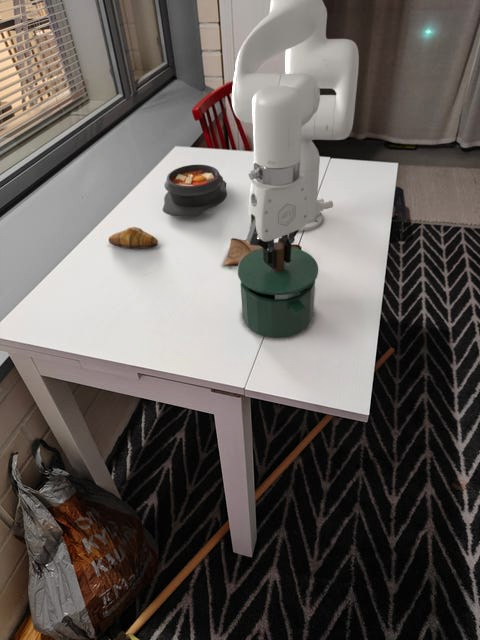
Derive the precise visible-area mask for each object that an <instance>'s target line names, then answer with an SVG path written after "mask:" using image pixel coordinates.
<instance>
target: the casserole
mask: <svg viewBox="0 0 480 640" xmlns="http://www.w3.org/2000/svg"><path fill="white" fill-rule="evenodd" d="M163 187H164V190H166V191H167V192H166V194H164V197H163V202H164V204H163V207H162V212H163V213H164V214H166V215H169V216H171V217H177V218H193V217H199V216H201V215H202V214H204V213H205V212H206V211H209V210H210V209H213V208H216V207H217V206H219V205H221V204H222V203H224V201H226V199H227V197H228V192H227V182H226V181H225V180H224V178H223V176H222V175H221V174H220V172H219V170H218V169H217V168H216V167H213V166H211V165H208V164H188V165H183V166H180V167H177V168H175V169H173V170H171V171H170V172H169V173H168V174H167V176H166V180H165V181H164V186H163Z"/></svg>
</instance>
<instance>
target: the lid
mask: <svg viewBox="0 0 480 640" xmlns="http://www.w3.org/2000/svg"><path fill="white" fill-rule="evenodd" d="M274 249H275V250H276V268H275V269H272V268H271V267H270V266H268V265H267V264H266V263H265V262H264V260H263V248H260V249H257V250H254V251H252V252H250V253H249V254H247V255H246V256H244V257H243V258H242V260H241V261H240V262H239V265H238V266H237V268H236V269H237V271H236V272H237V276H238V280H240V283H241V282H242V283H243V284H244V285H245V286H246V287H248V288H249V289H251V290H253V291H256V292H259V293H262V294H268V295H287V294H292V293H296V292H299V291H302V290H304V289H306V288H307V287H309V286H310V285H311V284H312V283H313V282H314V281H315V282H316V280H317V278H318V275H319V265H318V262H317V260H316V259H315V258H314V257H313V256H312V255H311V254H309V252H306V251H305V250H300V249H297V248H293V247H291V262H289V263H287V262H285V261H284V253H285V245H284V244H283V243H281V242H278V241H277V242H276V241H274Z"/></svg>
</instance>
